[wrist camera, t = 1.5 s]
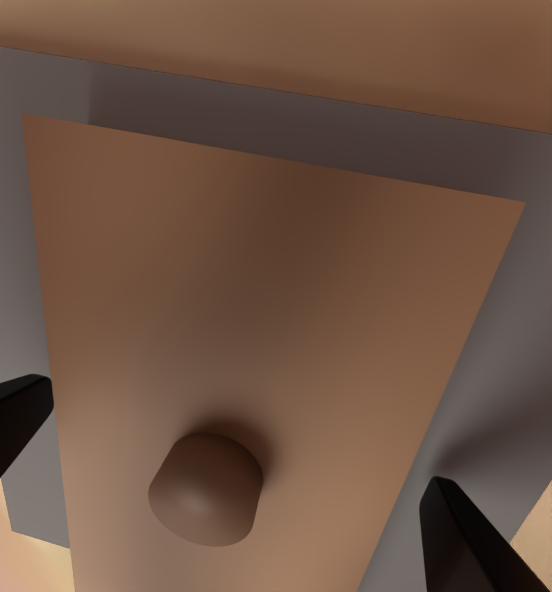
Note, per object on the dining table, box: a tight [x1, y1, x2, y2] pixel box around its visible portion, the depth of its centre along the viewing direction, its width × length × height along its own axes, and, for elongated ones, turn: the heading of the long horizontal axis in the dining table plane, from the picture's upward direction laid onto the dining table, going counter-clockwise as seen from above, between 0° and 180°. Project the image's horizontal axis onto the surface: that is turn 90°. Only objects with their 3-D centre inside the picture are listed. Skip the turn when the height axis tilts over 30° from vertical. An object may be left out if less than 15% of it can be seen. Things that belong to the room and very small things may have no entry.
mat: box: [0, 47, 552, 592], centre depth 8 cm, size 14×14×1 cm
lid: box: [21, 113, 526, 592], centre depth 7 cm, size 7×12×2 cm, turn 171°
